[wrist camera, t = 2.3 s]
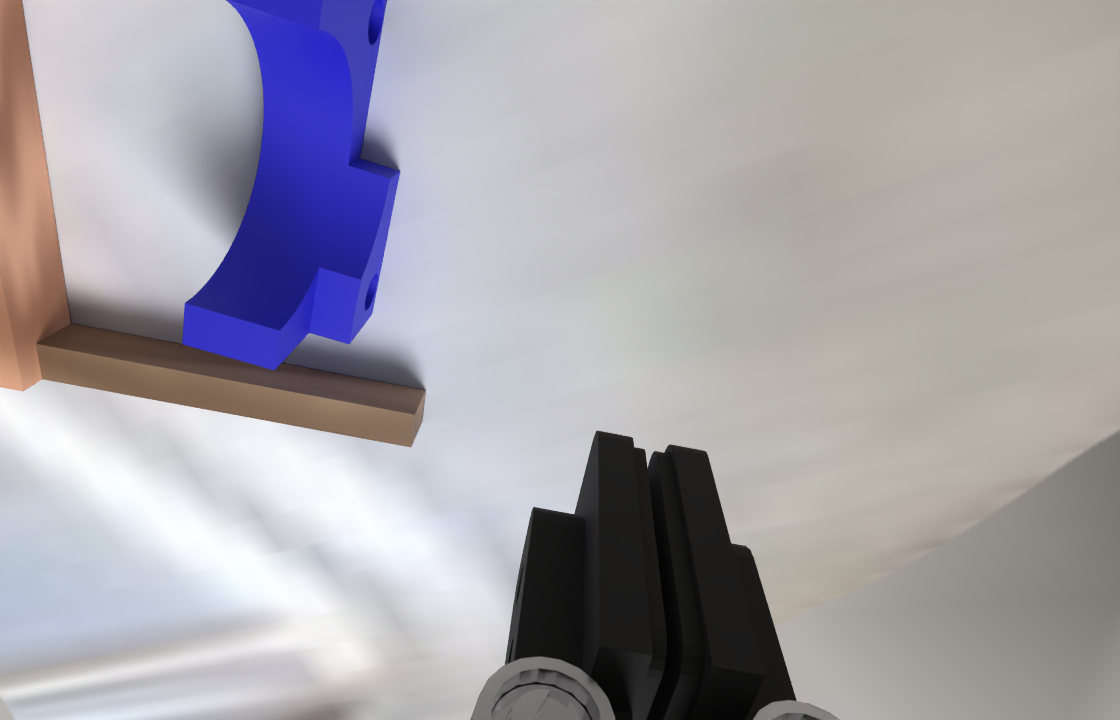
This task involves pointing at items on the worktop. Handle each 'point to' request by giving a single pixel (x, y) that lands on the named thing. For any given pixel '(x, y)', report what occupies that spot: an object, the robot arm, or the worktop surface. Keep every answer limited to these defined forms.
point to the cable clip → (304, 190)
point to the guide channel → (127, 360)
